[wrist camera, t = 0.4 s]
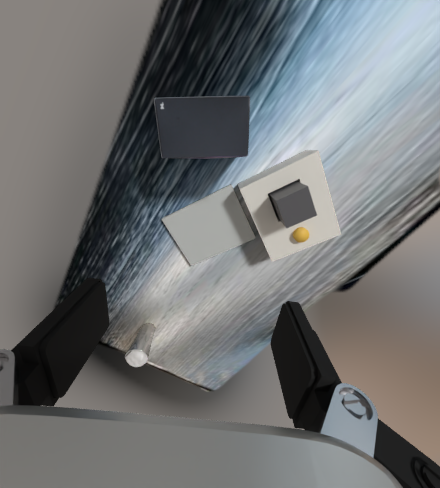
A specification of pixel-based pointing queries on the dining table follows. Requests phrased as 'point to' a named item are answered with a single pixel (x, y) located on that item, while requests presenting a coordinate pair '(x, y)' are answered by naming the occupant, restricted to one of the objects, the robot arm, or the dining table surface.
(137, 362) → the milkshake
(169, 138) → the small box
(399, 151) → the dining table surface
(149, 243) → the dining table surface
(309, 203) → the button
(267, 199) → the switch panel
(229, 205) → the lockout pad
